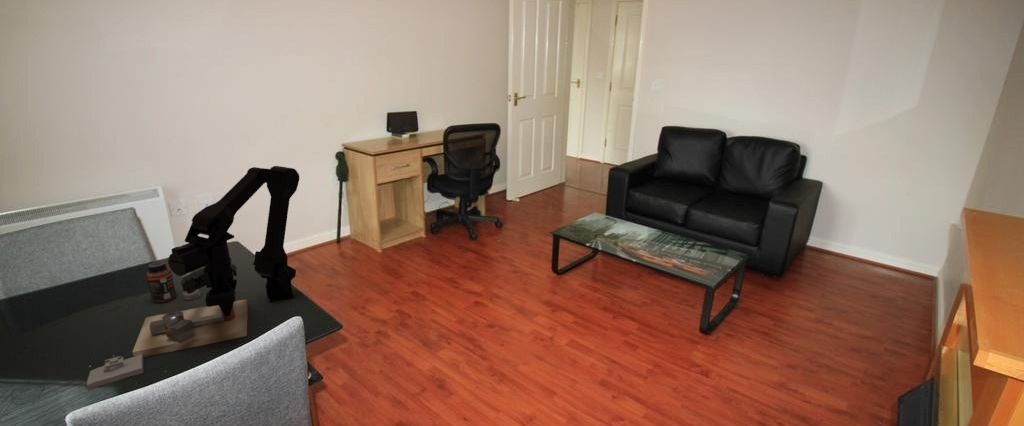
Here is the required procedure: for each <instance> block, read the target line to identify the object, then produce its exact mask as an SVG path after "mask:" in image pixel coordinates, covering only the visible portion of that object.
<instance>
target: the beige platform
mask: <svg viewBox="0 0 1024 426" xmlns="http://www.w3.org/2000/svg"><path fill="white" fill-rule="evenodd" d="M142 374H144V357H143V355H142V354H140V355H138V356H136V357H134V356H133V357H129V358H126V359H124V356H122V355H119V356H116V357H115V355H114V354H113V355H112V358H108V359H104V365H102V366H99V367H97V368H94V369H91V370H90V371H89V375H88V377H87V379H86V380H87V381H86V387H87V390H90V389H93V388H97V387H100V386H104V385H107V384H111V383H115V382H118V381H122V380H125V379H128V378H127V377H129V378H131V377H130V376H132V377H134V375H135V376H139V375H142ZM124 378H125V379H124ZM121 379H122V380H121Z"/></svg>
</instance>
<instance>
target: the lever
mask: <svg viewBox="0 0 1024 426" xmlns="http://www.w3.org/2000/svg"><path fill="white" fill-rule="evenodd" d="M220 310H221V308H220ZM181 311H182V310H178V311H177V310H176V311H175V310H174V311H171V312H168V314H167V313H165V314H166V315H164V316H163V318H162V319H163V320H158V321H153V322H151V323H150V326H149V327H150V331H151V335H153V334H159V333H164V332H166V330H167V329H168V328H169V327H171V326H173V325H175V324H176V323H178V322H180V321H181V320H183V319H184V315H183V312H181ZM234 318H235V313H234V307H233V306H232V310H231V313H230V316H225V315H224V313H223V312H222V310H221V313H220V314H215V315H210V316H204V317H199V318H194V319H188V320H192V324H193V326H198V325H203V324H208V323H214V322H219V321H229V320H232V319H234Z"/></svg>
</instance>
